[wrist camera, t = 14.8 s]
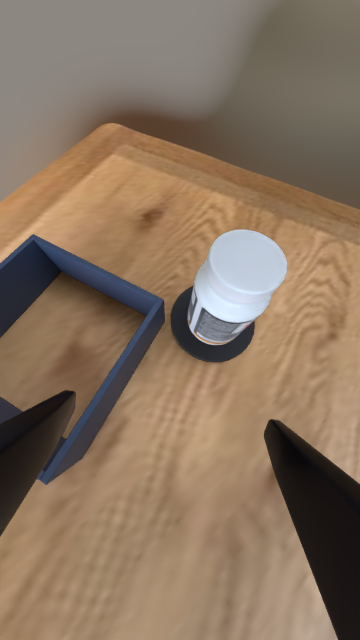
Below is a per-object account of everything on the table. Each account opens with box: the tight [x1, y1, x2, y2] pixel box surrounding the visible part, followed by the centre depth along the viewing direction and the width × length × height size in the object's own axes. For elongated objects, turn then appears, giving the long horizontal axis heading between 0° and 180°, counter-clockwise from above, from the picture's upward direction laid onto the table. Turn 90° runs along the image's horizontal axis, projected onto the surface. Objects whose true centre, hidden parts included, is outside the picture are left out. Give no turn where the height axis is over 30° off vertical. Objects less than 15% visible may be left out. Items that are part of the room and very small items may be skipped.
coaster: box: [171, 286, 254, 362], centre depth 21 cm, size 9×9×1 cm
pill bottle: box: [188, 230, 287, 345], centre depth 16 cm, size 6×6×10 cm
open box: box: [0, 234, 165, 485], centre depth 17 cm, size 14×14×5 cm
